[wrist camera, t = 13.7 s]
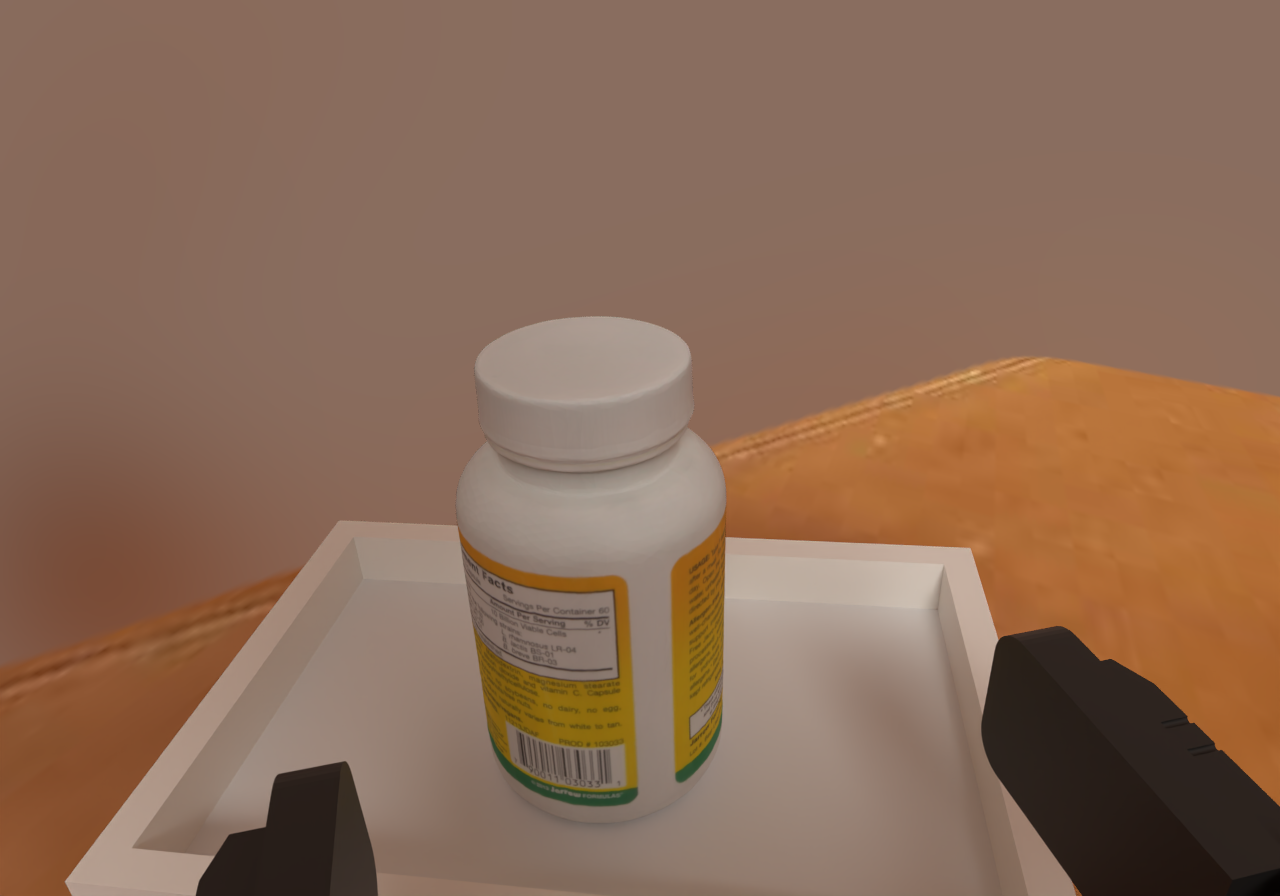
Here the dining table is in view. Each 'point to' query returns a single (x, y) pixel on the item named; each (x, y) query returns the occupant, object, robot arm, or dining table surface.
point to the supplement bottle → (595, 567)
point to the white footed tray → (629, 850)
